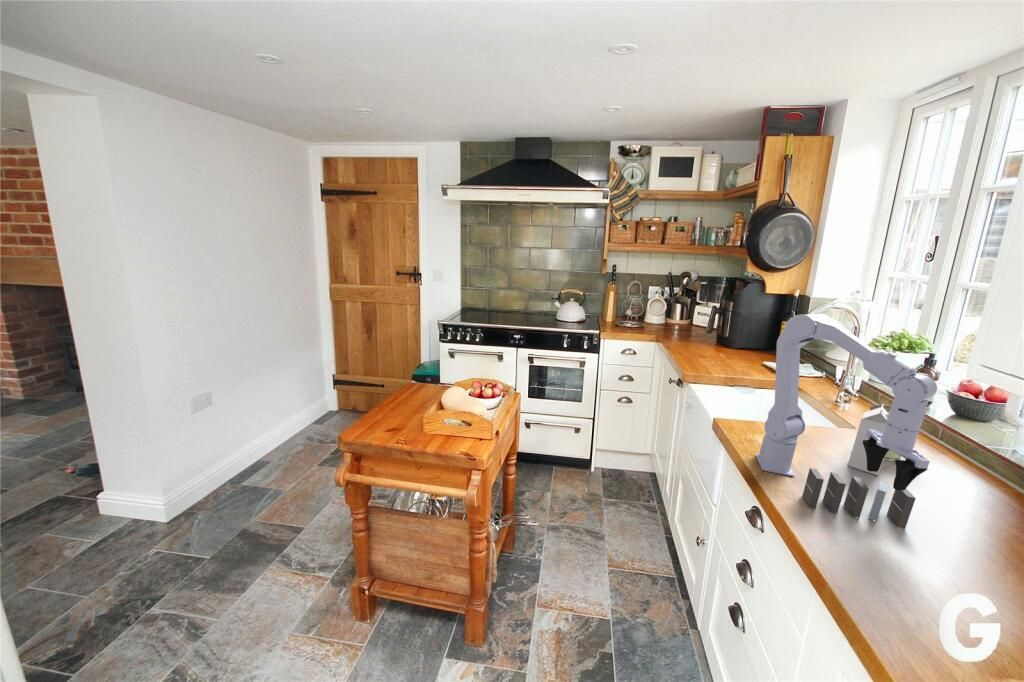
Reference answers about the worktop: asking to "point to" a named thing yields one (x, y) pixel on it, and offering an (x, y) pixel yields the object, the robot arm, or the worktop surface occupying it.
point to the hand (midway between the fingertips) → (884, 479)
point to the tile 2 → (834, 492)
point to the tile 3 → (856, 496)
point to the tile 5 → (901, 507)
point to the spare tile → (878, 501)
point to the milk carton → (872, 422)
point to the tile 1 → (812, 488)
